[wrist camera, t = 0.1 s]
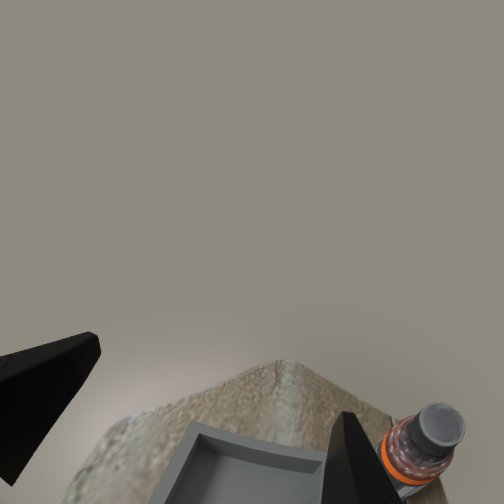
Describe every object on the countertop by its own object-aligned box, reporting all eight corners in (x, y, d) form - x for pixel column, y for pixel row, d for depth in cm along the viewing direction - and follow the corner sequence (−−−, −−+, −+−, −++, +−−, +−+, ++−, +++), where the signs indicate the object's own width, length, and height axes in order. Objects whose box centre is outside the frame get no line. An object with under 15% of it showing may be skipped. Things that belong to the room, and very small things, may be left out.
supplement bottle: (334, 471, 19) (393, 397, 15) (388, 460, 20) (451, 384, 16) (349, 524, 14) (429, 468, 9) (406, 505, 14) (488, 439, 10)
